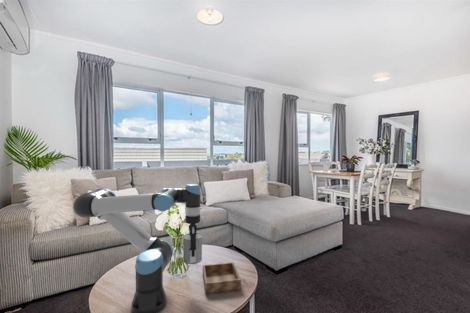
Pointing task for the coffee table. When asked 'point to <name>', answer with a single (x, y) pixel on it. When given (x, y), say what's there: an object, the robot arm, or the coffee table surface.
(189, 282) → the coffee table surface
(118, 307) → the coffee table surface
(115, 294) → the coffee table surface
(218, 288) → the walnut box
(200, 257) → the speckled white tin can
